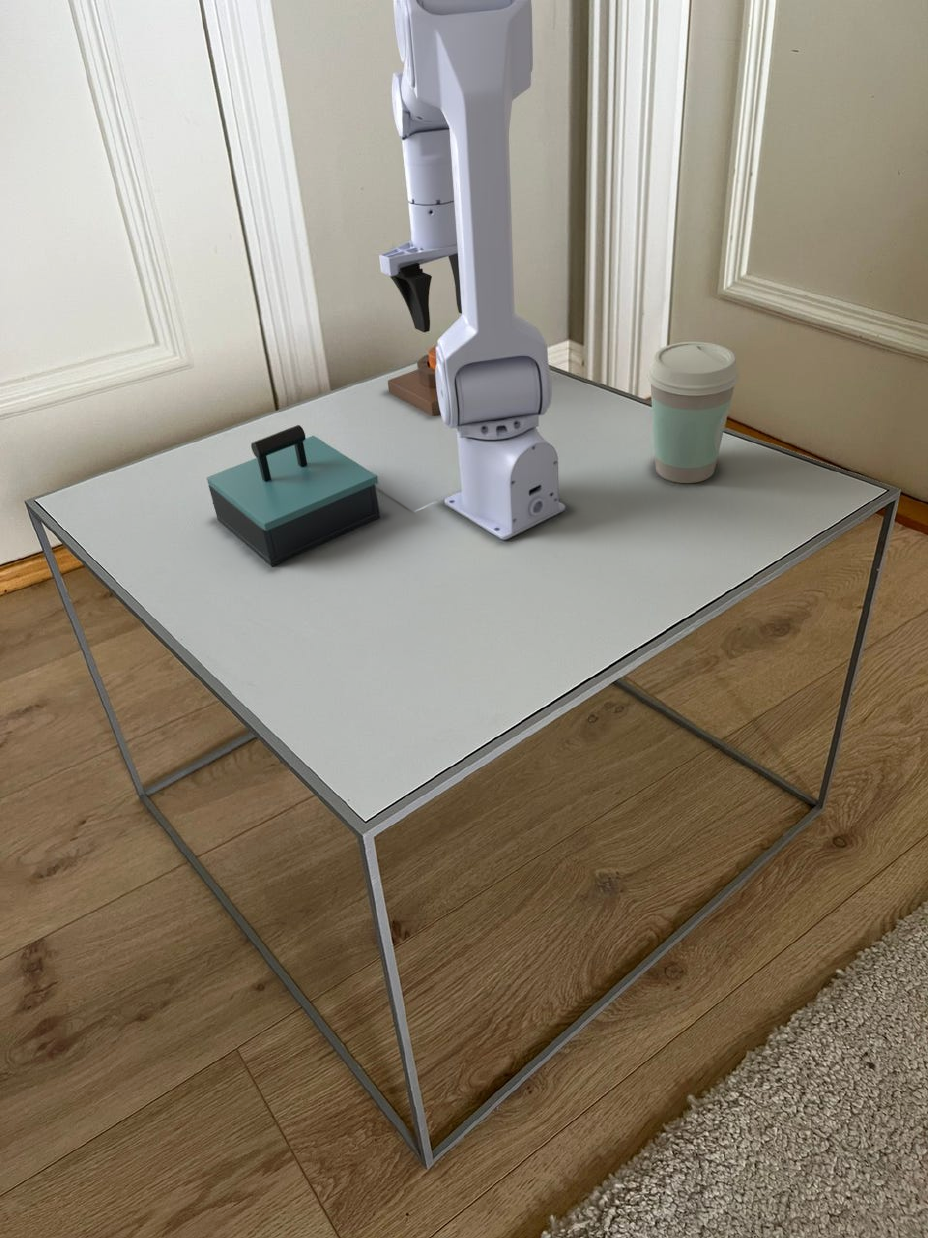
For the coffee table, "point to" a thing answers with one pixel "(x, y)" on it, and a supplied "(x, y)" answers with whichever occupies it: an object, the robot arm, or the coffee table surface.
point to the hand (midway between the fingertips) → (444, 321)
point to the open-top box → (299, 525)
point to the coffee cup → (690, 407)
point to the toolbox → (290, 478)
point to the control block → (417, 387)
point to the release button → (432, 357)
